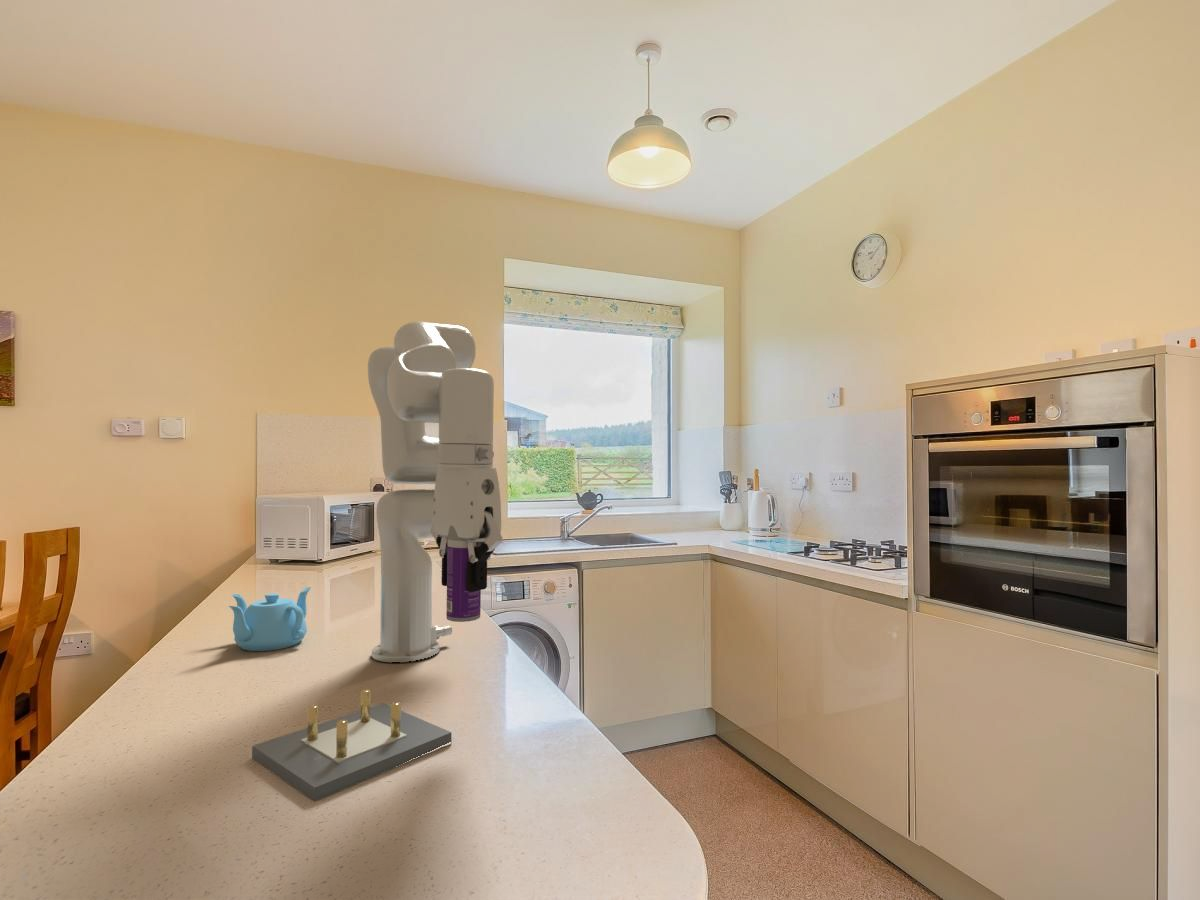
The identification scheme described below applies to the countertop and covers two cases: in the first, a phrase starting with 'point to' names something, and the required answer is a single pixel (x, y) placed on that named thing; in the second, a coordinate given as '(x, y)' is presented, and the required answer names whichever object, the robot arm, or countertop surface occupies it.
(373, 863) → the countertop surface
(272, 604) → the teapot
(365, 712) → the standoffs
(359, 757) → the plate
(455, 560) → the container
